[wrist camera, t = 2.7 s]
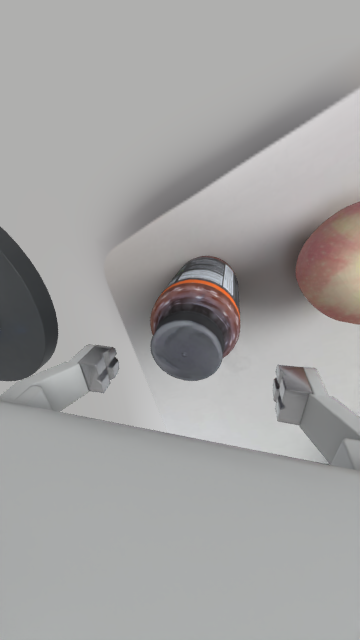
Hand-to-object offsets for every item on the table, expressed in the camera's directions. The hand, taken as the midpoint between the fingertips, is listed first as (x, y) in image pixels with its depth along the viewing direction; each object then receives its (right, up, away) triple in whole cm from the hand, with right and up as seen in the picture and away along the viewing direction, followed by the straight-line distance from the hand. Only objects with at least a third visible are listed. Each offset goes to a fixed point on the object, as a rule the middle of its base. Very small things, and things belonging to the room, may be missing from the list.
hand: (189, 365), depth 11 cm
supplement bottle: (+2, +6, +11) cm, 12 cm away
